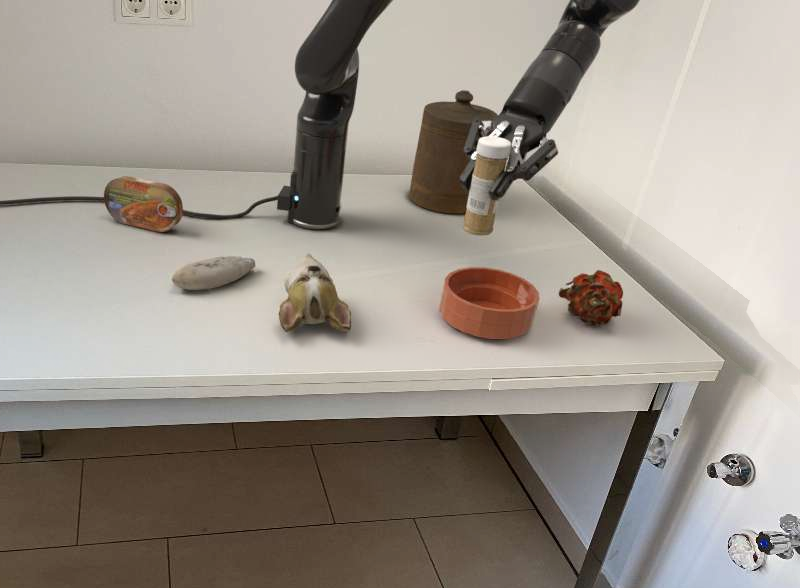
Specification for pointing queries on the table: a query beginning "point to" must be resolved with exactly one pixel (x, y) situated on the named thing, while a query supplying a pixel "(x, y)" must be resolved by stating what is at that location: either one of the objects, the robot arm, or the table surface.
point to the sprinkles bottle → (485, 184)
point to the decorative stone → (212, 272)
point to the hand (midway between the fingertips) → (478, 191)
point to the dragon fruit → (594, 297)
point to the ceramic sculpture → (312, 298)
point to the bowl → (488, 302)
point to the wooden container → (444, 153)
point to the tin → (143, 203)
